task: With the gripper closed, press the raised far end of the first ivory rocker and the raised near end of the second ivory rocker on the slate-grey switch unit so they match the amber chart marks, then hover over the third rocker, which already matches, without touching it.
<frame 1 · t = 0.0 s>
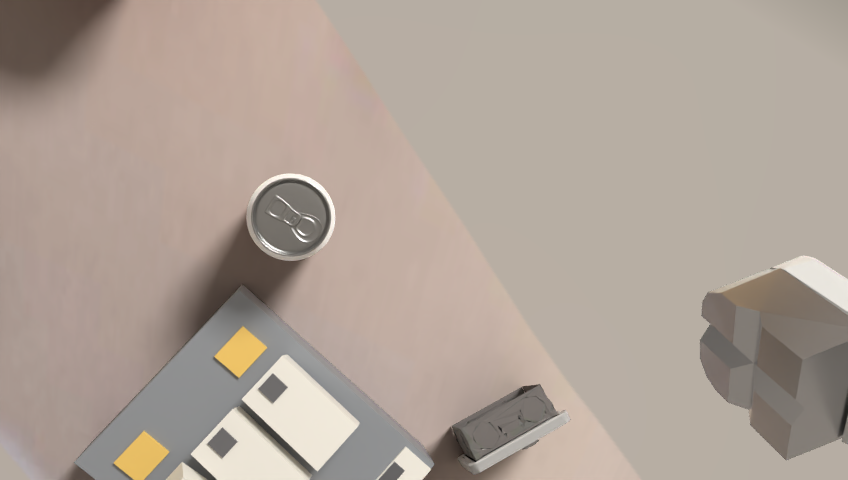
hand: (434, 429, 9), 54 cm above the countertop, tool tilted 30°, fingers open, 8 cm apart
switch unit: (264, 444, 62), on the countertop
electrical switch: (488, 416, 67), on the countertop
rocker c: (301, 411, 56), point 7 cm above the countertop, hinge at 13.0°
can: (289, 217, 62), on the countertop
rocker b: (252, 465, 55), point 7 cm above the countertop, hinge at 13.0°
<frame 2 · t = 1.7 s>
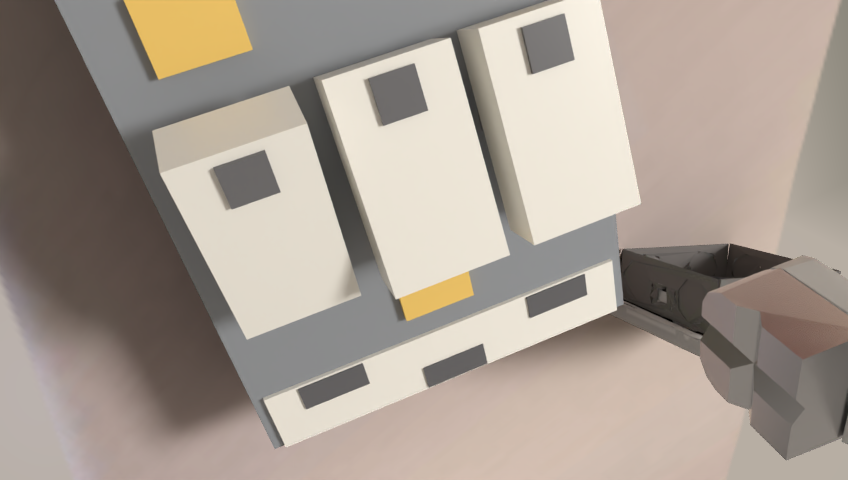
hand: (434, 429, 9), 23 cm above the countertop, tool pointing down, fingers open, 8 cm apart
switch unit: (370, 129, 32), on the countertop
electrical switch: (667, 260, 42), on the countertop
rocker a: (267, 222, 25), point 7 cm above the countertop, hinge at -13.0°
rocker c: (551, 119, 26), point 7 cm above the countertop, hinge at 13.0°
rocker b: (414, 168, 25), point 7 cm above the countertop, hinge at 13.0°
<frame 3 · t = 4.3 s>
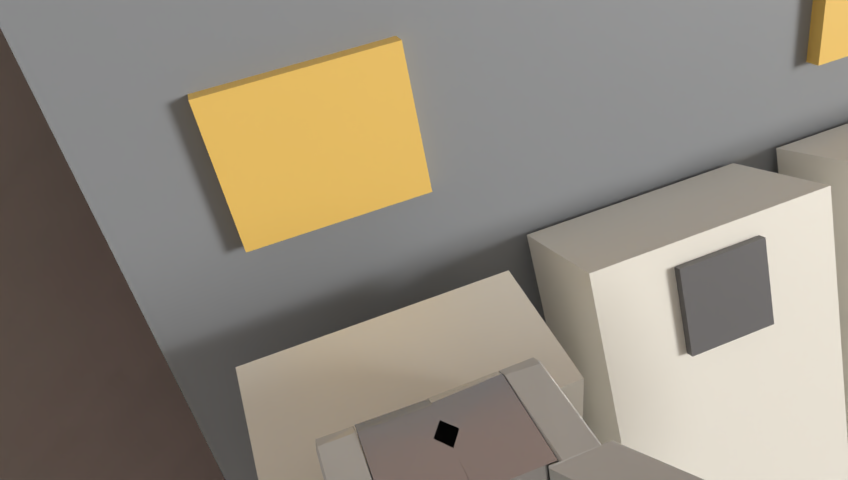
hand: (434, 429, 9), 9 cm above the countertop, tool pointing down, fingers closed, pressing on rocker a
switch unit: (536, 264, 20), on the countertop
rocker b: (700, 404, 14), point 7 cm above the countertop, hinge at 13.0°
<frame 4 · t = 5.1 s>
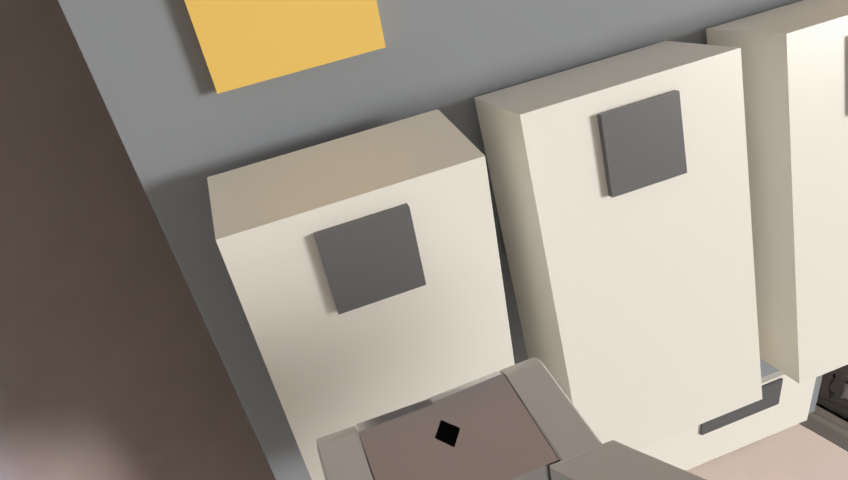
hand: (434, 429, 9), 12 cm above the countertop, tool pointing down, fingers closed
switch unit: (498, 159, 22), on the countertop
electrical switch: (828, 329, 33), on the countertop
rocker a: (386, 342, 14), point 7 cm above the countertop, hinge at 2.1°
rocker c: (840, 182, 16), point 7 cm above the countertop, hinge at 13.0°
rocker b: (627, 257, 15), point 7 cm above the countertop, hinge at 13.0°
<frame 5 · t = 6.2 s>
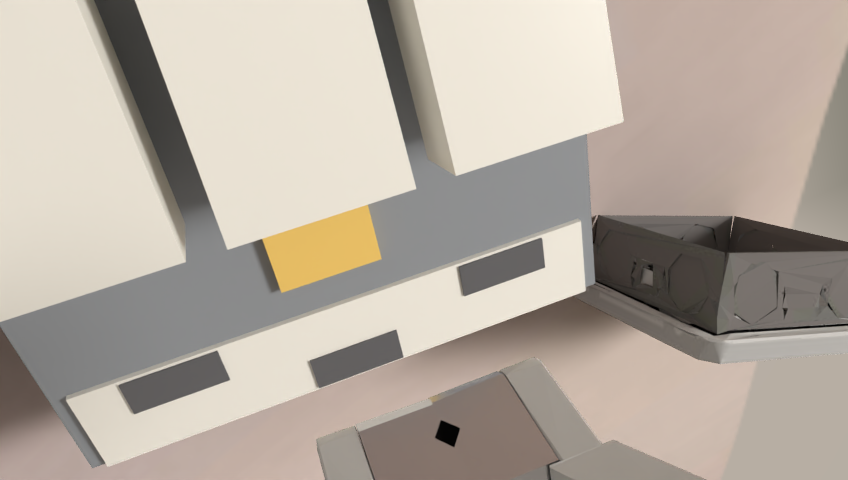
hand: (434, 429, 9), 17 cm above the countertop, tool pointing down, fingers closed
switch unit: (244, 18, 22), on the countertop
electrical switch: (654, 233, 33), on the countertop
rocker a: (10, 111, 15), point 7 cm above the countertop, hinge at 5.4°
rocker b: (265, 41, 16), point 7 cm above the countertop, hinge at 13.0°
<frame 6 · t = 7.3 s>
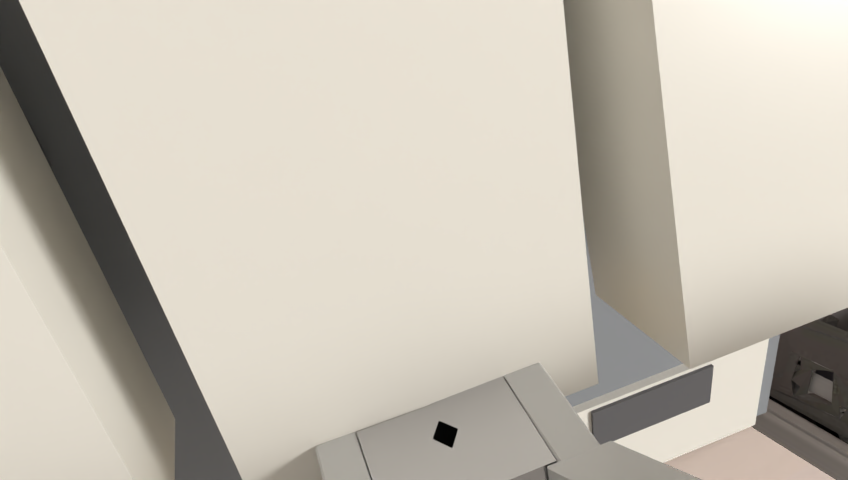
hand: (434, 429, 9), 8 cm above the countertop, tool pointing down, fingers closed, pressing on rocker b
switch unit: (269, 28, 14), on the countertop
electrical switch: (797, 303, 25), on the countertop
rocker b: (337, 119, 8), point 7 cm above the countertop, hinge at 5.3°, touching gripper
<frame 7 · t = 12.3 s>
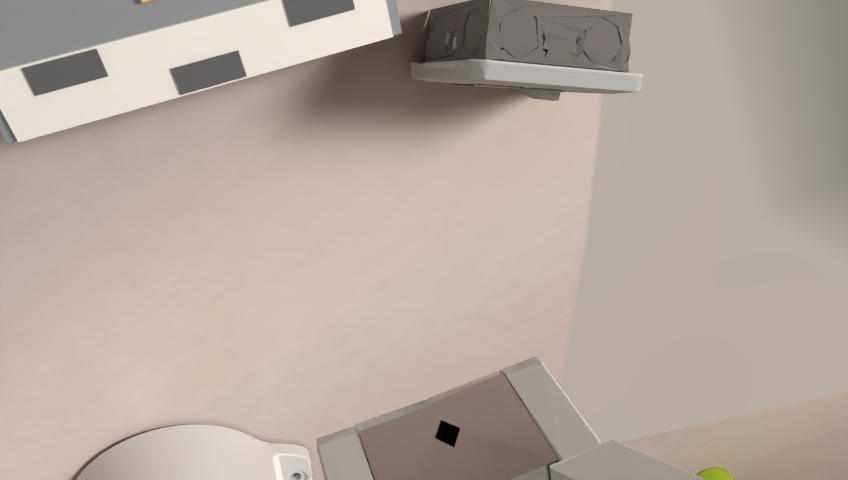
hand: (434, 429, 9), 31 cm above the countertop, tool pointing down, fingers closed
electrical switch: (484, 34, 41), on the countertop
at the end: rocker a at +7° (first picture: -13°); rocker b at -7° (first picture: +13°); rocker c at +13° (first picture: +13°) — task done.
